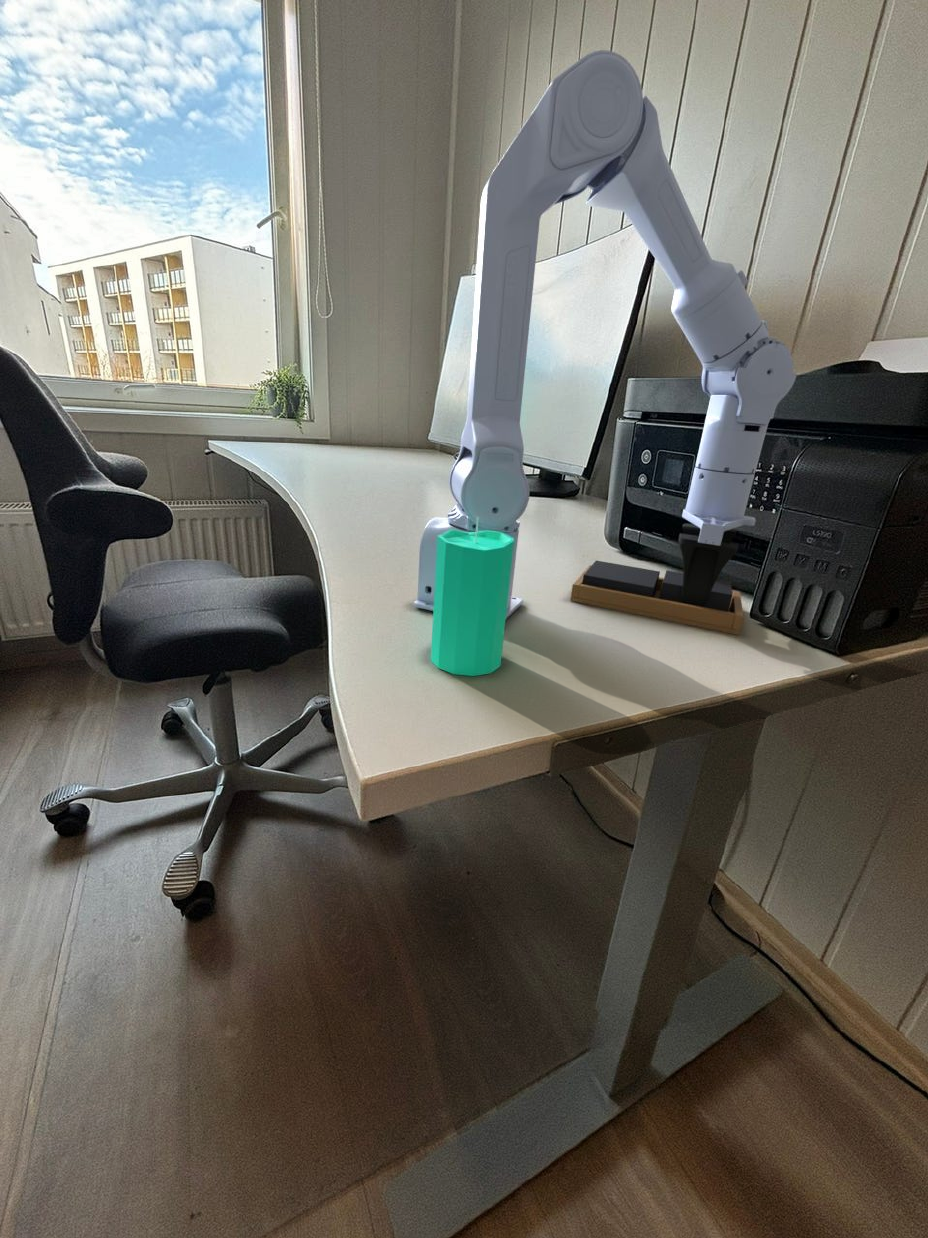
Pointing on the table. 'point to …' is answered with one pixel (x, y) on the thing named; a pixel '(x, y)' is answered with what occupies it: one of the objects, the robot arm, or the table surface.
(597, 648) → the table surface
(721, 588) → the pad
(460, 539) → the candle
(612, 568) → the pad
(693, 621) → the frame
